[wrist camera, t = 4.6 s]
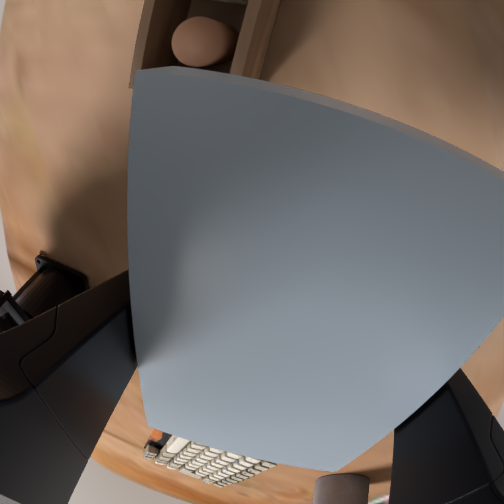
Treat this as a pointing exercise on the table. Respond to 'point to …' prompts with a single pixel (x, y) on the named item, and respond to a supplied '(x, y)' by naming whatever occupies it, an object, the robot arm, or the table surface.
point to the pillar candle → (341, 489)
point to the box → (205, 35)
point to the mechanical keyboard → (202, 460)
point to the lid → (299, 265)
